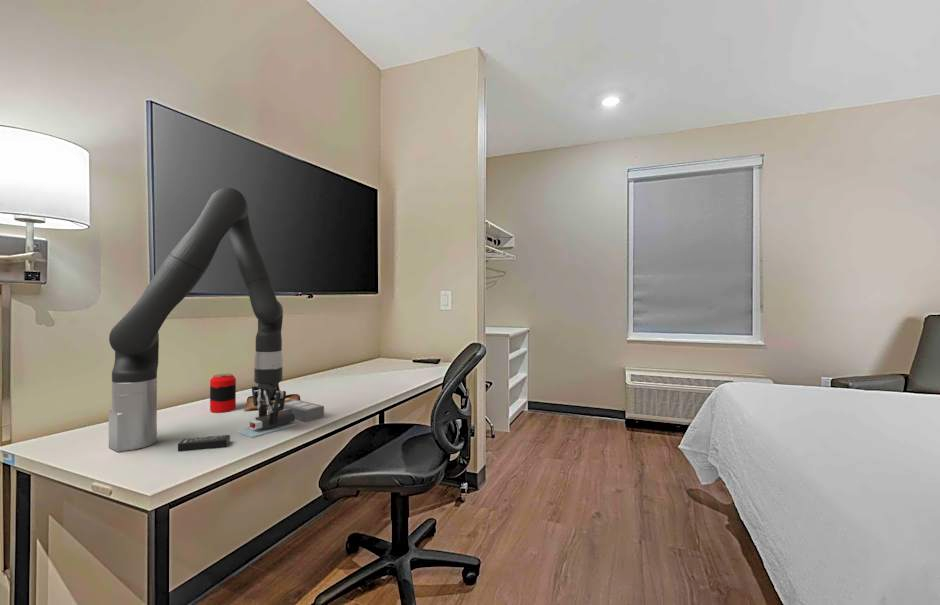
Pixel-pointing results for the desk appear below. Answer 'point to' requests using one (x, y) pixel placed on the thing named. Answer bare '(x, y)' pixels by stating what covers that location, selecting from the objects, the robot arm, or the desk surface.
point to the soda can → (222, 393)
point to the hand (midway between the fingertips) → (268, 422)
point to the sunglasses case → (251, 406)
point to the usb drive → (265, 420)
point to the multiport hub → (203, 443)
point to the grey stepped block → (302, 409)
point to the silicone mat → (265, 430)
